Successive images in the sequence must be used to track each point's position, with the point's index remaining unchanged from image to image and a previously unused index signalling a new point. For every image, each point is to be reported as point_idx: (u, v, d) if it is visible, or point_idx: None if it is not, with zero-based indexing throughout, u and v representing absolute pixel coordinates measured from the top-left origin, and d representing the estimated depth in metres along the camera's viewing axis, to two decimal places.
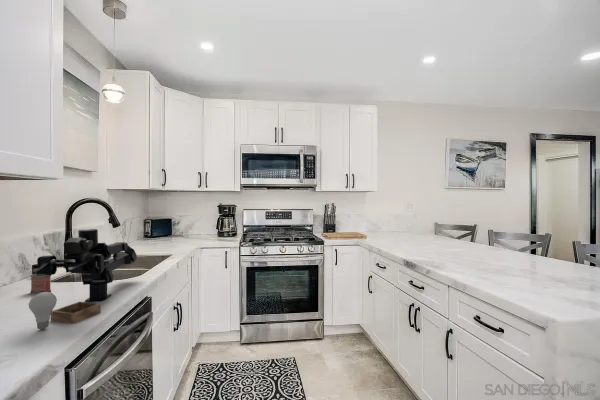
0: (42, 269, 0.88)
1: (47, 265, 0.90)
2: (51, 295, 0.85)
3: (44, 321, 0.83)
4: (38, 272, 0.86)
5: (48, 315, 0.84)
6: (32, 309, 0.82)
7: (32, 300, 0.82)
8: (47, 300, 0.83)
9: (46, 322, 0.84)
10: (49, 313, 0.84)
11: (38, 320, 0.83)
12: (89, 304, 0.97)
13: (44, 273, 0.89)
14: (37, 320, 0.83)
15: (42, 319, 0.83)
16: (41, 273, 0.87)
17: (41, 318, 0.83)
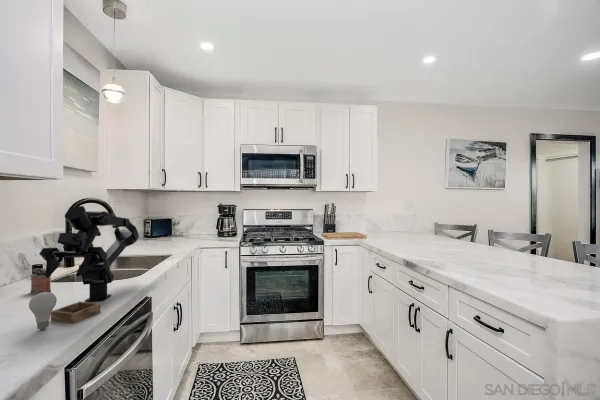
0: (49, 270, 0.93)
1: (52, 262, 0.94)
2: (51, 295, 0.85)
3: (44, 321, 0.83)
4: (47, 276, 0.92)
5: (48, 315, 0.84)
6: (32, 309, 0.82)
7: (32, 300, 0.82)
8: (47, 300, 0.83)
9: (46, 322, 0.84)
10: (49, 313, 0.84)
11: (38, 320, 0.83)
12: (89, 304, 0.97)
13: (53, 270, 0.94)
14: (37, 320, 0.83)
15: (42, 319, 0.83)
16: (50, 274, 0.93)
17: (41, 318, 0.83)
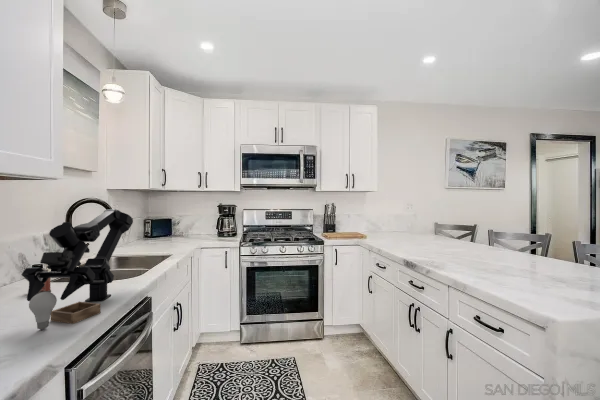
0: (32, 293, 0.86)
1: (35, 284, 0.87)
2: (51, 295, 0.85)
3: (44, 321, 0.83)
4: (29, 299, 0.85)
5: (48, 315, 0.84)
6: (32, 309, 0.82)
7: (32, 300, 0.82)
8: (47, 300, 0.83)
9: (46, 322, 0.84)
10: (49, 313, 0.84)
11: (38, 320, 0.83)
12: (89, 304, 0.97)
13: (36, 293, 0.88)
14: (37, 320, 0.83)
15: (42, 319, 0.83)
16: None
17: (41, 318, 0.83)
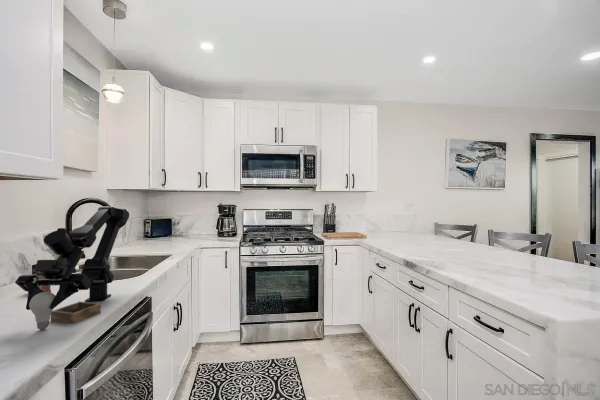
0: None
1: (34, 292, 0.85)
2: (51, 295, 0.85)
3: (44, 321, 0.83)
4: (28, 308, 0.83)
5: (48, 315, 0.84)
6: (32, 309, 0.82)
7: (32, 300, 0.82)
8: (47, 300, 0.83)
9: (46, 322, 0.84)
10: (49, 313, 0.84)
11: (38, 320, 0.83)
12: (89, 304, 0.97)
13: None
14: (37, 320, 0.83)
15: (42, 319, 0.83)
16: None
17: (41, 318, 0.83)
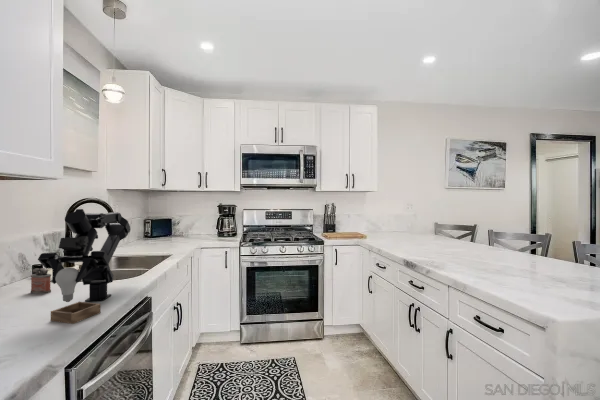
0: None
1: (58, 268, 0.92)
2: (75, 270, 0.92)
3: (70, 294, 0.90)
4: (54, 282, 0.89)
5: (73, 288, 0.91)
6: (59, 282, 0.88)
7: (59, 274, 0.88)
8: (73, 275, 0.90)
9: (71, 294, 0.91)
10: (74, 286, 0.91)
11: (64, 293, 0.90)
12: (89, 304, 0.97)
13: None
14: (63, 293, 0.90)
15: (68, 292, 0.90)
16: None
17: (67, 291, 0.90)
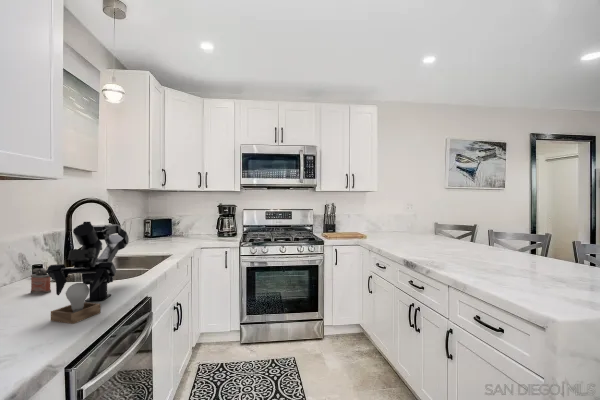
0: (60, 288, 0.92)
1: (61, 279, 0.94)
2: (85, 285, 0.95)
3: (79, 308, 0.93)
4: (58, 293, 0.92)
5: (83, 303, 0.94)
6: (70, 298, 0.91)
7: (70, 290, 0.92)
8: (83, 290, 0.93)
9: (81, 309, 0.94)
10: (83, 301, 0.94)
11: (74, 308, 0.92)
12: (89, 304, 0.97)
13: (62, 287, 0.94)
14: (73, 308, 0.92)
15: (78, 307, 0.93)
16: (60, 291, 0.93)
17: (77, 306, 0.93)
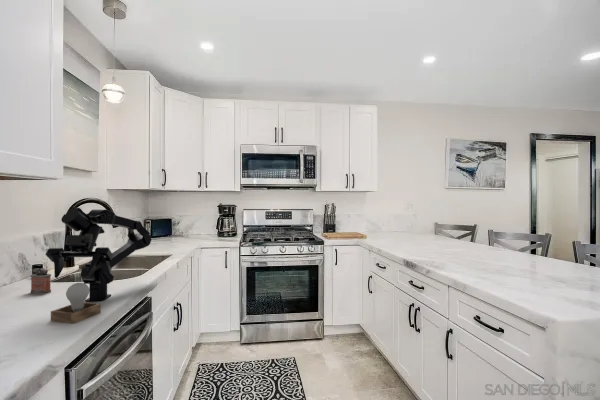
0: (58, 271, 0.96)
1: (59, 263, 0.97)
2: (85, 285, 0.95)
3: (80, 308, 0.93)
4: (56, 276, 0.95)
5: (83, 303, 0.94)
6: (70, 298, 0.91)
7: (70, 290, 0.92)
8: (83, 290, 0.93)
9: (81, 309, 0.94)
10: (84, 301, 0.94)
11: (74, 307, 0.93)
12: (89, 304, 0.97)
13: (60, 270, 0.98)
14: (73, 307, 0.92)
15: (78, 307, 0.93)
16: (59, 274, 0.97)
17: (77, 306, 0.93)
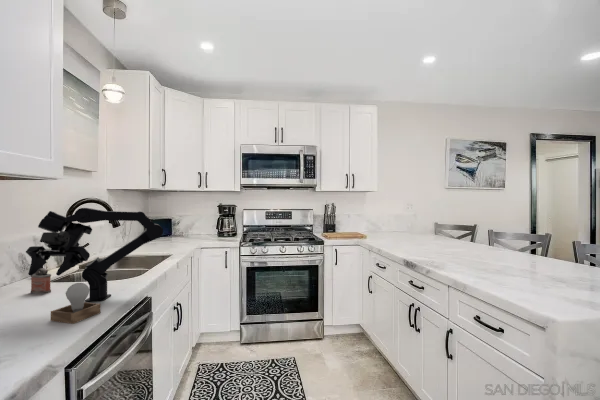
0: (33, 269, 0.96)
1: (36, 261, 0.97)
2: (85, 285, 0.95)
3: (80, 308, 0.93)
4: (30, 274, 0.95)
5: (83, 303, 0.94)
6: (70, 298, 0.91)
7: (70, 290, 0.92)
8: (83, 290, 0.93)
9: (81, 309, 0.94)
10: (83, 301, 0.94)
11: (74, 307, 0.93)
12: (89, 304, 0.97)
13: (37, 268, 0.98)
14: (73, 308, 0.92)
15: (78, 307, 0.93)
16: (34, 272, 0.96)
17: (77, 306, 0.93)
